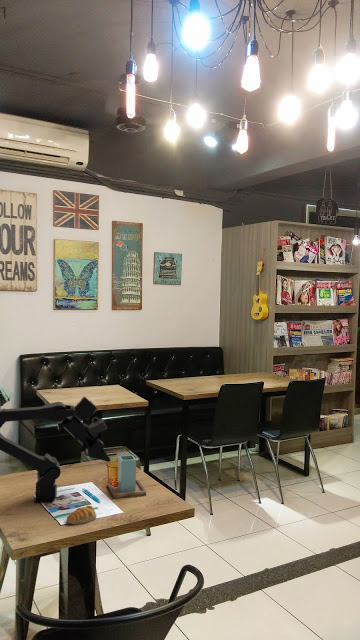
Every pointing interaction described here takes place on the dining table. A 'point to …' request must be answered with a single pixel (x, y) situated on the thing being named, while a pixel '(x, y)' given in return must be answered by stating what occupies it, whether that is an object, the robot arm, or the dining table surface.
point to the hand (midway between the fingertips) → (107, 456)
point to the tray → (117, 494)
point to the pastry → (81, 515)
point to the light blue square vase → (126, 473)
